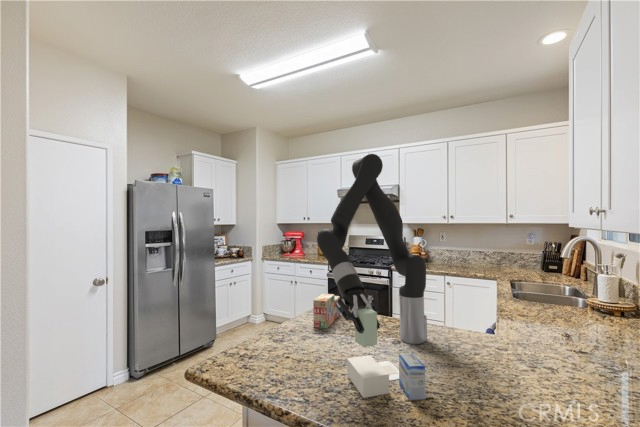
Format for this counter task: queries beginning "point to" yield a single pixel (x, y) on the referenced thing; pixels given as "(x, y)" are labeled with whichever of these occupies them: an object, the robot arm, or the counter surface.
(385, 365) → the page
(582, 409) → the counter surface
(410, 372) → the medicine box
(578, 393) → the counter surface
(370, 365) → the base brick
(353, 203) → the robot arm
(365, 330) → the sage brick
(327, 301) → the printed cardboard box
